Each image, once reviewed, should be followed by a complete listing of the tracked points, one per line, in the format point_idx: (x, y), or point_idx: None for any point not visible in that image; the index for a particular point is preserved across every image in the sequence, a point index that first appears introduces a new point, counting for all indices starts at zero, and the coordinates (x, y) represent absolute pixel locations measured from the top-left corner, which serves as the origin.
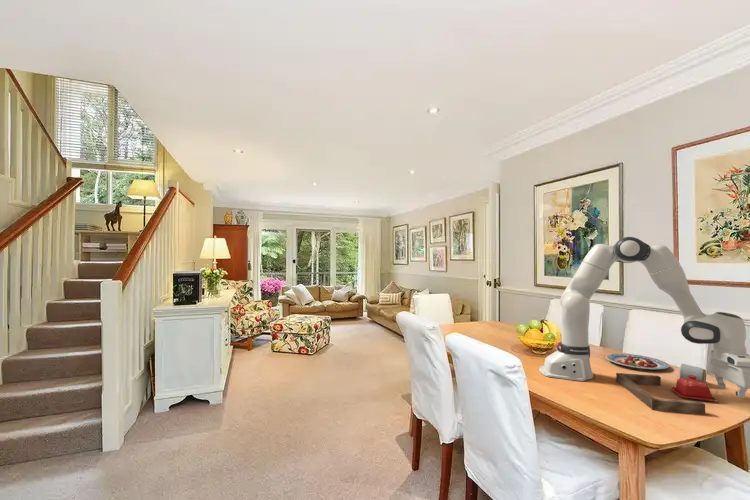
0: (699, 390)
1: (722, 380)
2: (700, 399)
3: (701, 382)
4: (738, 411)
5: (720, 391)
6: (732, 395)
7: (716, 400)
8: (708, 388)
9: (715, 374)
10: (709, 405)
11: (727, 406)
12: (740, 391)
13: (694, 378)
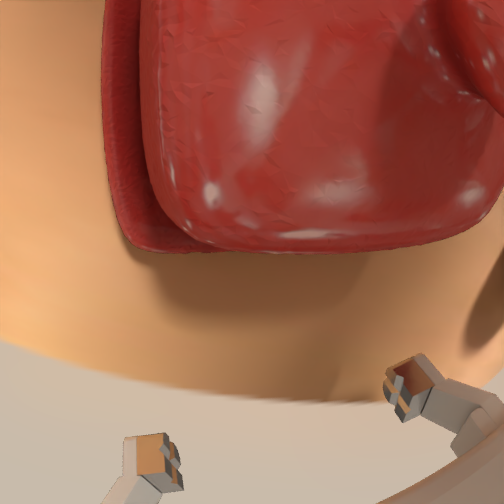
0: (144, 63)
1: (441, 422)
2: (131, 80)
3: (336, 159)
4: (20, 326)
5: (444, 326)
6: None
7: (130, 240)
8: (183, 229)
9: (496, 435)
10: (27, 141)
11: (93, 293)
12: (111, 495)
13: (449, 24)
